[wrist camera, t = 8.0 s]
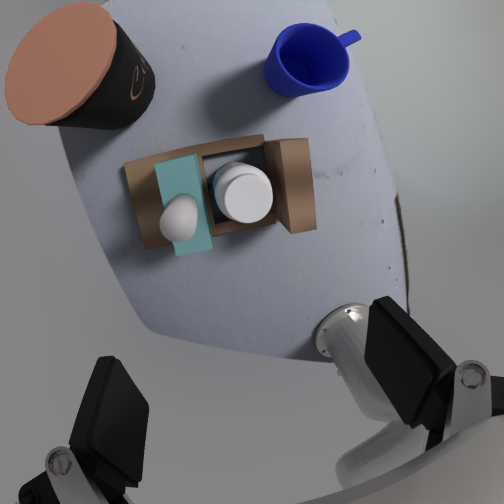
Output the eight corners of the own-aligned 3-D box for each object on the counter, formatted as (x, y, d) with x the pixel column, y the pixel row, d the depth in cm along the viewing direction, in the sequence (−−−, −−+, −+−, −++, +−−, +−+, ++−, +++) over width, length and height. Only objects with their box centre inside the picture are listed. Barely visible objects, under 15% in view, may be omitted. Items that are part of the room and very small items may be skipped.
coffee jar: (165, 112, 30) (126, 83, 14) (93, 142, 30) (12, 150, 13) (148, 45, 26) (107, -19, 9) (78, 77, 25) (2, 47, 9)
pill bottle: (243, 213, 37) (259, 241, 27) (204, 192, 35) (203, 212, 25) (267, 175, 35) (292, 188, 25) (227, 152, 33) (237, 155, 23)
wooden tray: (293, 216, 38) (317, 237, 30) (147, 245, 36) (132, 274, 28) (283, 131, 33) (306, 128, 25) (126, 162, 32) (102, 169, 23)
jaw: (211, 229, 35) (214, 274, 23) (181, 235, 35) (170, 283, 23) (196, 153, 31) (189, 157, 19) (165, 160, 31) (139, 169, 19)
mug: (345, 74, 31) (384, 59, 22) (282, 114, 32) (308, 104, 23) (311, 30, 28) (342, 4, 19) (244, 67, 29) (257, 42, 20)
